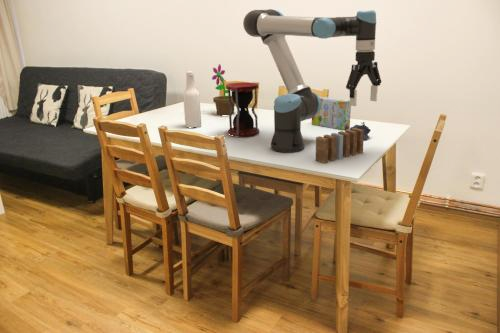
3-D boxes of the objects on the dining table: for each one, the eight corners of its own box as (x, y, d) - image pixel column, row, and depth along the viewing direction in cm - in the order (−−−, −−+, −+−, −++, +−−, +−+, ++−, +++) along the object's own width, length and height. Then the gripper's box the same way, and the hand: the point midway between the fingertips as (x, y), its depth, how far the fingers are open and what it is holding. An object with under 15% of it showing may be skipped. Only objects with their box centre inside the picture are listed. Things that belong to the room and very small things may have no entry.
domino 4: (346, 157, 184) (347, 134, 181) (337, 154, 188) (338, 131, 185) (349, 156, 185) (350, 133, 182) (340, 153, 189) (341, 131, 186)
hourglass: (222, 136, 223) (220, 86, 214) (235, 128, 237) (233, 81, 229) (252, 138, 217) (251, 87, 209) (263, 130, 231) (262, 82, 223)
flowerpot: (223, 111, 282) (221, 63, 272) (241, 113, 274) (240, 63, 264) (209, 115, 271) (206, 65, 261) (227, 117, 263) (224, 66, 253)
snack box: (350, 128, 230) (351, 99, 225) (344, 130, 226) (345, 101, 221) (316, 122, 244) (317, 95, 239) (310, 124, 240) (311, 97, 235)
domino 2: (331, 161, 180) (332, 137, 176) (322, 158, 183) (323, 135, 180) (335, 160, 181) (335, 136, 177) (326, 157, 185) (327, 134, 181)
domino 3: (333, 155, 187) (334, 132, 184) (342, 158, 183) (343, 135, 180) (330, 156, 186) (331, 133, 183) (338, 159, 182) (339, 135, 179)
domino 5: (352, 155, 186) (354, 132, 183) (344, 152, 190) (345, 130, 187) (356, 154, 187) (357, 131, 184) (347, 151, 191) (348, 129, 188)
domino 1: (324, 163, 177) (324, 139, 174) (315, 160, 181) (315, 137, 178) (327, 162, 178) (328, 138, 175) (319, 159, 182) (319, 136, 179)
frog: (375, 138, 211) (376, 122, 208) (358, 142, 205) (358, 126, 202) (359, 134, 219) (360, 119, 216) (342, 138, 212) (343, 122, 210)
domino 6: (359, 153, 189) (360, 130, 185) (350, 150, 193) (351, 128, 189) (362, 152, 190) (364, 130, 186) (354, 150, 194) (355, 127, 190)
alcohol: (188, 124, 249) (184, 70, 239) (203, 124, 247) (200, 70, 237) (183, 128, 241) (178, 72, 231) (198, 128, 239) (194, 72, 229)
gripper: (352, 53, 168) (351, 108, 174) (391, 48, 182) (388, 100, 189) (337, 53, 173) (336, 106, 180) (376, 48, 188) (374, 98, 195)
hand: (363, 103), depth 184 cm, fingers open, 13 cm apart
